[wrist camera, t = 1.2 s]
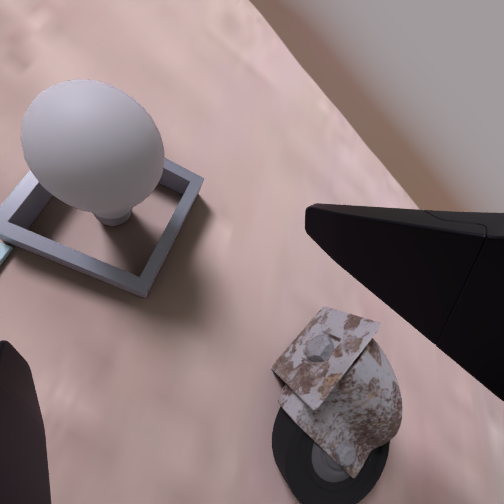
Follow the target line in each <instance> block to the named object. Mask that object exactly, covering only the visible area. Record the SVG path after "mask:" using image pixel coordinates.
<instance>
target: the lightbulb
mask: <svg viewBox="0 0 504 504" xmlns="http://www.w3.org/2000/svg"><path fill="white" fill-rule="evenodd" d="M21 142H22V147H23V152H24V157H25V160H26V162H27V164H28V166H29V168H30V170H31V172H32V173H33V175H34V176H35V178H36V179H37V180H38V181H39V183H40V184H41V185H42V187H44V188H45V189H46V190H47V191H48V192H50V193H51V194H52V195H53V196H55V197H56V198H58V199H59V200H61V201H63V202H64V203H66V204H68V205H70V206H72V207H75V208H77V209H80V210H83V211H88V212H92V213H93V214H94V216H95V217H96V218H97V219H98V220H99V221H100V222H102V223H103V224H106V225H111V226H115V225H120V224H122V223H124V222H126V221H127V220H128V219H129V217H130V215H131V211H132V208H133V207H134V206H136V205H138V204H139V203H141V202H142V201H144V200H145V199H146V198H147V197H148V196H149V195H150V194H151V193H152V191H153V190H154V189H155V187H156V186H157V184H158V183H159V180H160V178H161V176H162V172H163V167H164V160H165V158H164V147H163V142H162V139H161V135H160V132H159V130H158V128H157V126H156V125H155V123H154V121H153V119H152V117H151V116H150V115H149V113H148V112H147V111H146V110H145V108H143V107H142V106H141V105H140V104H139V103H138V102H137V101H136V100H135V99H134V98H133V97H131V96H130V95H128V94H127V93H125V92H124V91H122V90H120V89H118V88H115V87H113V86H111V85H109V84H106V83H102V82H99V81H94V80H84V79H77V80H68V81H65V82H61V83H58V84H55V85H53V86H51V87H49V88H47V89H46V90H44V91H43V92H42V93H40V94H39V95H38V96H37V97H36V98H35V99H34V101H33V102H32V103H31V105H30V106H29V107H28V109H27V110H26V113H25V116H24V118H23V122H22V132H21Z"/></svg>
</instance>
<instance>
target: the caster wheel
mask: <svg viewBox="0 0 504 504" xmlns="http://www.w3.org/2000/svg"><path fill="white" fill-rule="evenodd" d="M380 326H381V323H379V322H376V321H373V320H369V319H366V318H362V317H359V316H356V315H352V314H349V313H346V312H342V311H339V310H336V309H332V308H329V307H323V308H322V309H321V310H320V311H319V312H318V313H317V314H316V316H315V317H314V318H313V319H312V320H311V321H310V323H309V324H308V325H307V326H306V327H305V328H304V330H303V331H302V332H301V333H300V334H299V335H298V337H297V338H296V339H295V340H294V341H293V342H292V344H291V345H290V346H289V347H288V348H287V349H286V351H285V352H284V353H283V354H282V355H281V356H280V358H279V359H278V360H277V361H276V362H275V363H274V365H273V366H272V368H271V369H272V370H273V371H274V372H275V373H276V374H277V375H278V376H279V377H280V378H281V379H282V380H283V381H284V382H285V383H286V384H285V385H284V387H283V389H282V391H281V394H280V397H279V400H278V402H279V404H280V405H281V407H280V409H279V412H278V414H277V417H276V420H275V423H274V427H273V433H272V449H273V455H274V458H275V461H276V464H277V466H278V468H279V470H280V472H281V473H282V475H283V477H284V479H285V480H286V482H287V484H288V485H289V487H290V489H291V490H292V492H293V494H294V495H295V497H296V498H297V499H298V500H299V501H300V503H302V504H356V503H358V502H359V501H361V500H362V499H363V498H364V497H365V496H366V495H367V494H368V493H369V492H370V491H371V489H372V488H373V487H374V485H375V484H376V482H377V481H378V479H379V478H380V476H381V473H382V471H383V469H384V467H385V464H386V460H387V457H388V451H389V444H390V440H391V439H392V438H393V437H394V436H395V435H396V434H397V432H398V430H399V427H400V424H401V419H402V398H401V394H400V389H399V385H398V382H397V379H396V376H395V374H394V372H393V369H392V367H391V365H390V363H389V361H388V359H387V357H386V355H385V354H384V352H383V350H382V349H381V348H380V346H379V345H378V344H377V342H376V341H375V340H374V339H373V336H374V335H375V334H376V332H377V331H378V330H379V329H380Z"/></svg>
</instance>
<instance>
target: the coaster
mask: <svg viewBox="0 0 504 504" xmlns="http://www.w3.org/2000/svg"><path fill="white" fill-rule="evenodd" d="M12 250H13V248H12V247H11V246H8V245H6V244H3V243H1V242H0V266H1V264H2V263H3V262H4V260H5V259H6V258H7V256H8V255H9V254H10V252H11V251H12Z"/></svg>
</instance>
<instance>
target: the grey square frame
mask: <svg viewBox="0 0 504 504" xmlns="http://www.w3.org/2000/svg"><path fill="white" fill-rule="evenodd" d="M203 181H204V178H202V177H201V176H199V175H197V174H195V173H193V172H191V171H189V170H187V169H185V168H183V167H181V166H180V165H178V164H176V163H174V162H172V161H170V160H168V159H166V158H165V160H164V167H163V172H162V176H161V178H160V180H159V183H160V184H162V185H164V186H166V187H168V188H170V189H172V190H174V191H176V192H178V193H180V194H182V195H183V197H182V198H181V200H180V202H179V204H178V206H177V208H176V210H175V212H174V214H173V215H172V217H171V219H170V221H169V223H168V225H167V227H166V229H165V231H164V232H163V234H162V236H161V238H160V240H159V242H158V244H157V246H156V248H155V249H154V251H153V253H152V255H151V257H150V259H149V261H148V263H147V265H146V267H145V268H144V270H143V272H142V274H141V276H140V277H138V276H135V275H133V274H131V273H128V272H126V271H124V270H121V269H119V268H116V267H114V266H112V265H109V264H107V263H105V262H102V261H100V260H97V259H95V258H93V257H90V256H88V255H86V254H83V253H81V252H78V251H76V250H74V249H71V248H69V247H67V246H64V245H62V244H60V243H57V242H55V241H52V240H50V239H48V238H45V237H43V236H41V235H38V234H36V233H33V232H31V231H29V230H28V228H29V227H30V226H31V224H32V223H33V222H34V220H35V219H36V218H37V216H38V215H39V214H40V212H41V211H42V210H43V208H44V207H45V206H46V204H47V203H48V202H49V200H50V199H51V198H52V196H53V195H52V194H51V193H50V192H48V191H47V190H46V189H45V188H44V187H42V185H41V184H40V183H39V181H38V180H37V179H36V178H35V176H34V175H33V173H32V172H31V170H30V171H29V172H28V173H27V174H26V176H25V177H24V178H23V179H22V180H21V182H20V183H19V184H18V185H17V186H16V188H15V189H14V190H13V191H12V193H11V194H10V195H9V196H8V197H7V199H6V200H5V201H4V202H3V203H2V205H1V206H0V239H1V240H3V241H5V242H8V243H10V244H12V245H15V246H17V247H20V248H22V249H25V250H27V251H30V252H32V253H35V254H37V255H39V256H42V257H44V258H47V259H49V260H52V261H54V262H57V263H59V264H62V265H64V266H66V267H69V268H71V269H74V270H76V271H79V272H81V273H84V274H86V275H89V276H91V277H94V278H96V279H98V280H101V281H103V282H106V283H108V284H111V285H113V286H116V287H118V288H121V289H123V290H125V291H128V292H130V293H133V294H135V295H138V296H140V297H143V298H146V296H147V294H148V292H149V290H150V288H151V286H152V284H153V282H154V280H155V278H156V276H157V274H158V272H159V271H160V269H161V267H162V265H163V263H164V261H165V259H166V257H167V255H168V253H169V251H170V249H171V247H172V245H173V243H174V241H175V239H176V237H177V235H178V233H179V231H180V229H181V227H182V225H183V223H184V221H185V219H186V217H187V215H188V213H189V211H190V209H191V207H192V205H193V203H194V201H195V199H196V197H197V195H198V193H199V191H200V188H201V186H202V183H203Z"/></svg>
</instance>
